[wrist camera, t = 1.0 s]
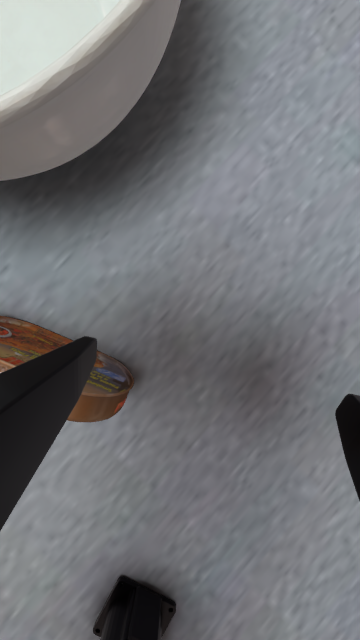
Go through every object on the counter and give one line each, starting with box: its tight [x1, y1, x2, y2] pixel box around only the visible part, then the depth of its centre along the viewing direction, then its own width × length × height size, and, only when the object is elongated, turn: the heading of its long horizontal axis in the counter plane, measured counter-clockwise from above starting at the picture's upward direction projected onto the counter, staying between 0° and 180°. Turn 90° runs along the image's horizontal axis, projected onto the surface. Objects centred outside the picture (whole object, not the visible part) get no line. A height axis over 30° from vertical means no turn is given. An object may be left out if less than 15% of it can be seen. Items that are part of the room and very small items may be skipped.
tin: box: [0, 316, 134, 422], centre depth 21 cm, size 15×3×8 cm, turn 67°
